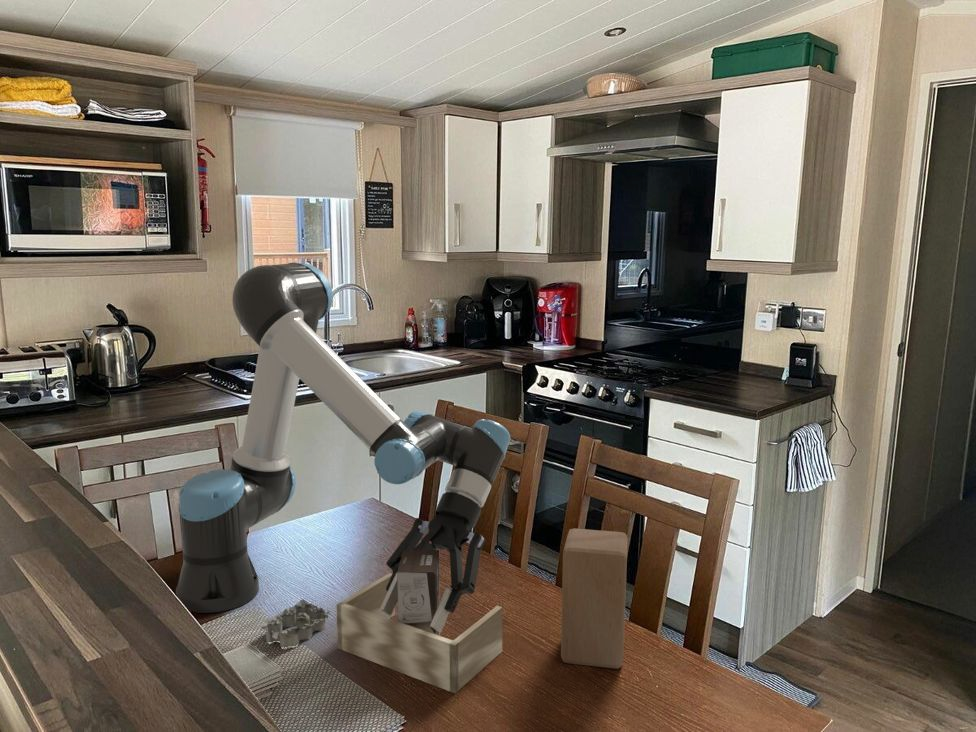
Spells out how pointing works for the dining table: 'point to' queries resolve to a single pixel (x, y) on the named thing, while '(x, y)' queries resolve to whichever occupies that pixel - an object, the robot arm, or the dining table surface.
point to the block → (594, 598)
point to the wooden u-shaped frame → (415, 641)
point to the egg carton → (288, 618)
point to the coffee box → (418, 588)
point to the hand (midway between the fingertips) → (409, 620)
